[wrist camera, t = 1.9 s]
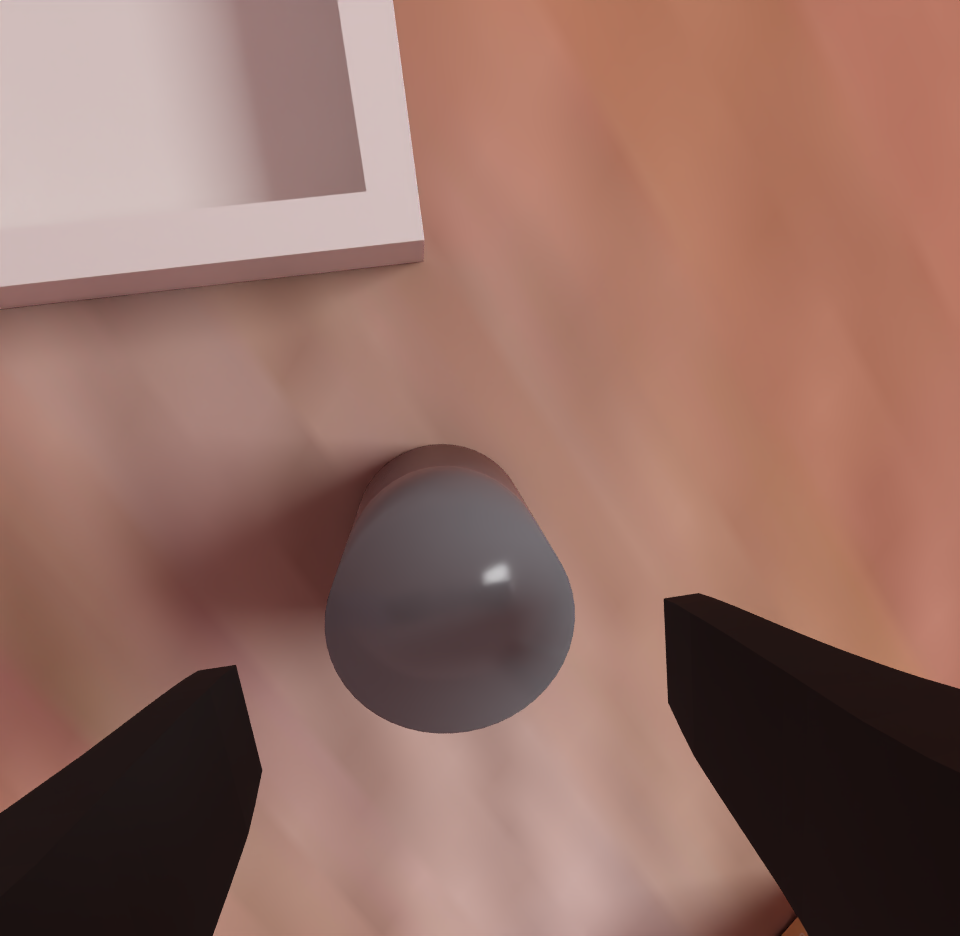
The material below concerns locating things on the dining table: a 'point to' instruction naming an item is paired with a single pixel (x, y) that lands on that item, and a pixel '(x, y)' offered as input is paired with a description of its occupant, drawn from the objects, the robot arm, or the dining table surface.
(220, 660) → the dining table surface
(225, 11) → the white tub
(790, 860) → the robot arm
